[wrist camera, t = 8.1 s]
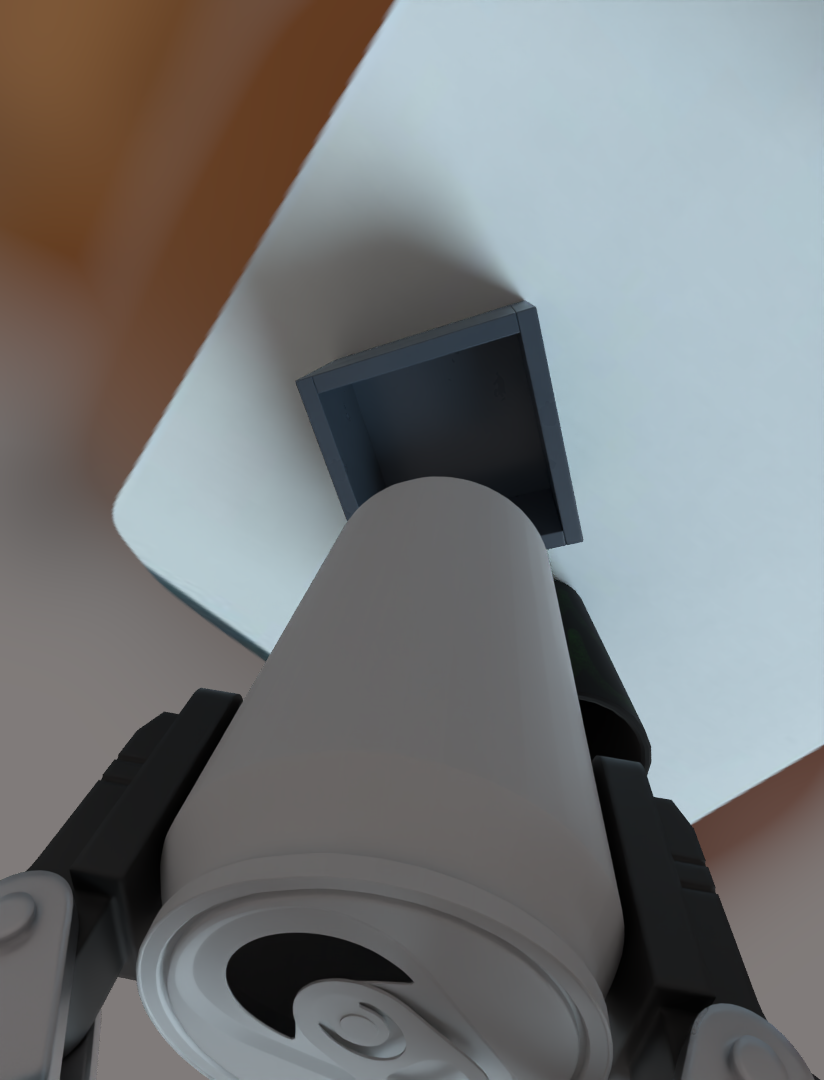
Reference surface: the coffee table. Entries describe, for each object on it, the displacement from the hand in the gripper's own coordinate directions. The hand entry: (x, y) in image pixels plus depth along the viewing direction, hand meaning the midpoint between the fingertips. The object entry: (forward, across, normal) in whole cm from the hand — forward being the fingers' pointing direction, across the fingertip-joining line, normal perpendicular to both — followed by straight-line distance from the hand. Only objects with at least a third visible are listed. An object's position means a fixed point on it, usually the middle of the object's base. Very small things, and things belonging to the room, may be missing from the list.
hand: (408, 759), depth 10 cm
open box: (+24, +1, 0) cm, 24 cm away
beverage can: (+8, 0, 0) cm, 8 cm away
